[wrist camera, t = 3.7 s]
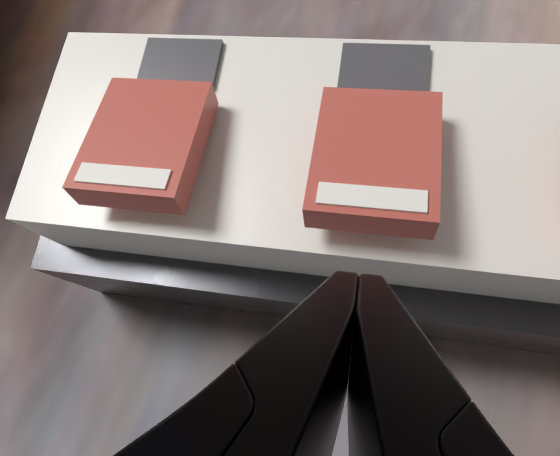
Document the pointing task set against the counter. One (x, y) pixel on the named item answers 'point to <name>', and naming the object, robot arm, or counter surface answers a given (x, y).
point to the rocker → (144, 145)
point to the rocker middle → (376, 163)
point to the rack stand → (298, 294)
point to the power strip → (298, 150)
